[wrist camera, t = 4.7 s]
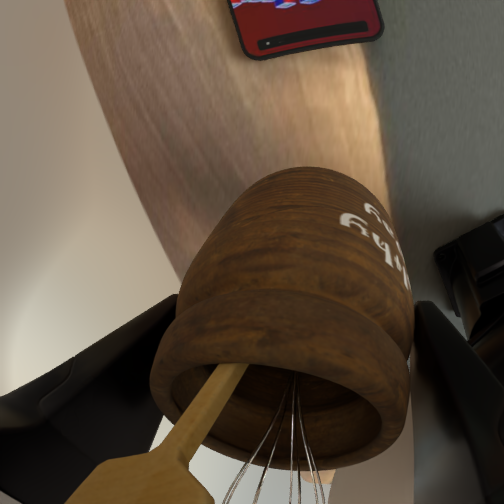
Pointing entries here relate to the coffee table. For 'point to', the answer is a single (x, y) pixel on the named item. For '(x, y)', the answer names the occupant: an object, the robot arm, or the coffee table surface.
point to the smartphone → (303, 25)
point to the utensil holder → (279, 343)
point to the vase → (379, 474)
